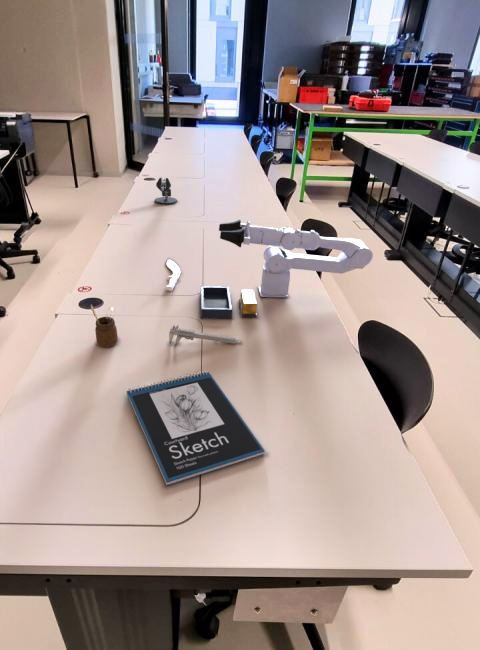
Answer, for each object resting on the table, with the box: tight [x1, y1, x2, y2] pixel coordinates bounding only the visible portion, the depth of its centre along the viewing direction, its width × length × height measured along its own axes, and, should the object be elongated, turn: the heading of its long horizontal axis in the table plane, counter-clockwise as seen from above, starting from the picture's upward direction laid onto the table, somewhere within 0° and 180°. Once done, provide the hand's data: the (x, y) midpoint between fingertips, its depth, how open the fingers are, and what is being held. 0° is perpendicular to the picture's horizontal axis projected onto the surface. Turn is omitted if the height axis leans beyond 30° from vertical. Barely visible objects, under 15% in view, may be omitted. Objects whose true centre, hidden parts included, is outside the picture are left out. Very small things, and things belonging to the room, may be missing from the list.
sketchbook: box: [126, 370, 266, 486], centre depth 98 cm, size 22×30×2 cm
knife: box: [163, 258, 182, 292], centre depth 165 cm, size 30×2×8 cm
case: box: [200, 285, 233, 320], centre depth 144 cm, size 10×17×3 cm, turn 2°
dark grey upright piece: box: [154, 176, 178, 206], centre depth 242 cm, size 13×20×13 cm, turn 1°
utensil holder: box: [90, 304, 119, 348], centre depth 122 cm, size 6×6×12 cm
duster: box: [238, 289, 258, 319], centre depth 143 cm, size 5×11×5 cm, turn 1°
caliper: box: [168, 324, 241, 345], centre depth 125 cm, size 20×1×6 cm, turn 94°
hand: (219, 231), depth 142 cm, fingers open, 7 cm apart
